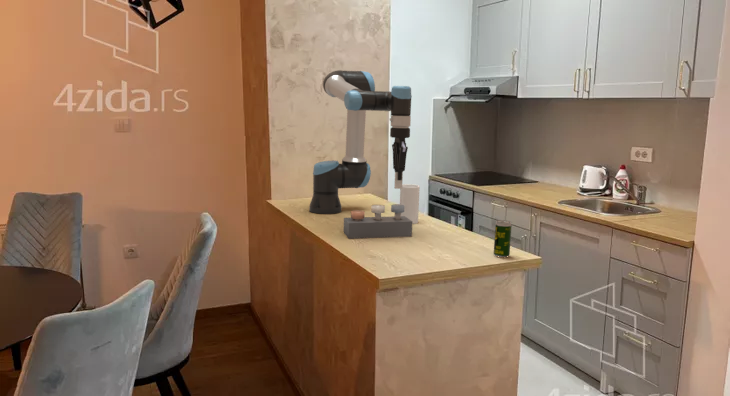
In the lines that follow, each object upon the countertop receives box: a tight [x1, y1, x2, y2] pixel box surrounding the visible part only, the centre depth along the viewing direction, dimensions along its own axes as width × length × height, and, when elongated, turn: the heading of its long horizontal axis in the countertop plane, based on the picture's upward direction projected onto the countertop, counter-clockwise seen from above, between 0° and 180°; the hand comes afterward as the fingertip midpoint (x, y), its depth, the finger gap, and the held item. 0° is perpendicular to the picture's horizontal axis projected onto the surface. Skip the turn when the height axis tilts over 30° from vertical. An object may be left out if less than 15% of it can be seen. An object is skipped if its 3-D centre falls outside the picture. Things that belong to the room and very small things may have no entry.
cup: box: [399, 183, 420, 225], centre depth 241 cm, size 8×8×16 cm
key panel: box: [343, 215, 413, 240], centre depth 218 cm, size 10×25×6 cm, turn 103°
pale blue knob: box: [390, 203, 405, 220], centre depth 219 cm, size 5×5×7 cm
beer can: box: [493, 219, 512, 258], centre depth 190 cm, size 5×5×12 cm
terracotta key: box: [350, 209, 366, 221], centre depth 215 cm, size 5×5×7 cm
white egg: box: [370, 204, 386, 220], centre depth 217 cm, size 5×5×7 cm
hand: (398, 188), depth 217 cm, fingers closed
